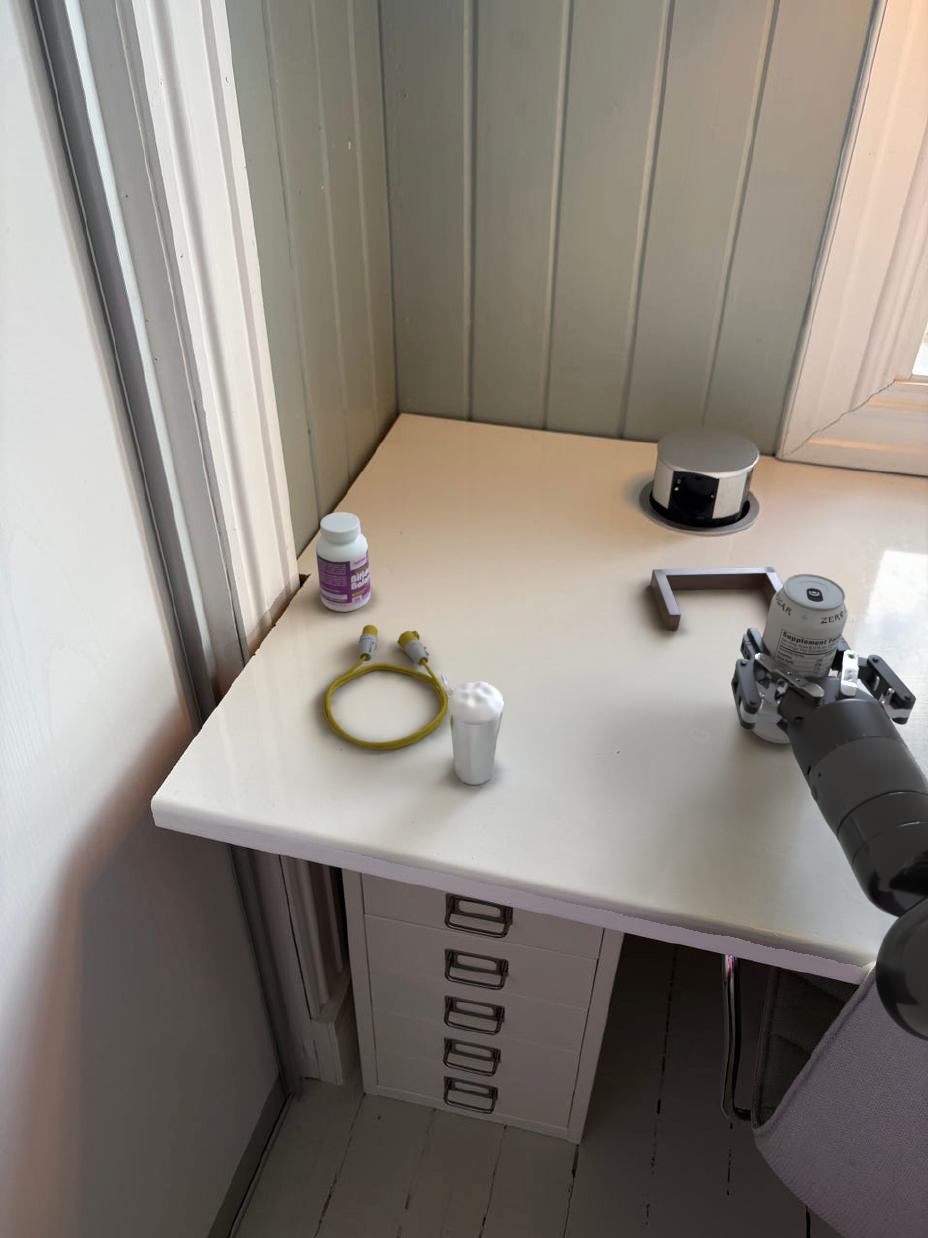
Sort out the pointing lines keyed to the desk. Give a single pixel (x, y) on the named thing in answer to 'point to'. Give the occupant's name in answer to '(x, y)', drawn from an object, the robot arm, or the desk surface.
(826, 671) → the energy drink can
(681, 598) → the desk surface
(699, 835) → the desk surface
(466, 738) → the milkshake
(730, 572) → the bay
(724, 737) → the desk surface
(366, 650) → the extension cord
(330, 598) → the pill bottle
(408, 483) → the desk surface
